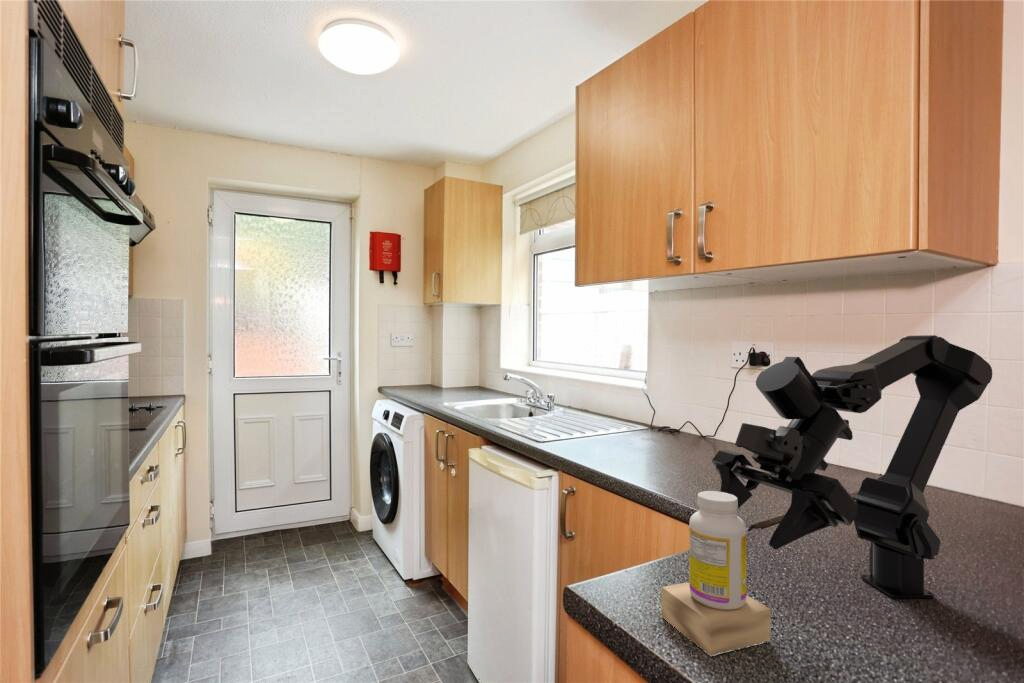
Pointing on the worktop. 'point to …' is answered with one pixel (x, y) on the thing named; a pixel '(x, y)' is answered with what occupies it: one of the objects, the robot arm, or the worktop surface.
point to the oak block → (715, 621)
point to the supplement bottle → (717, 552)
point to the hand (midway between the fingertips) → (742, 533)
